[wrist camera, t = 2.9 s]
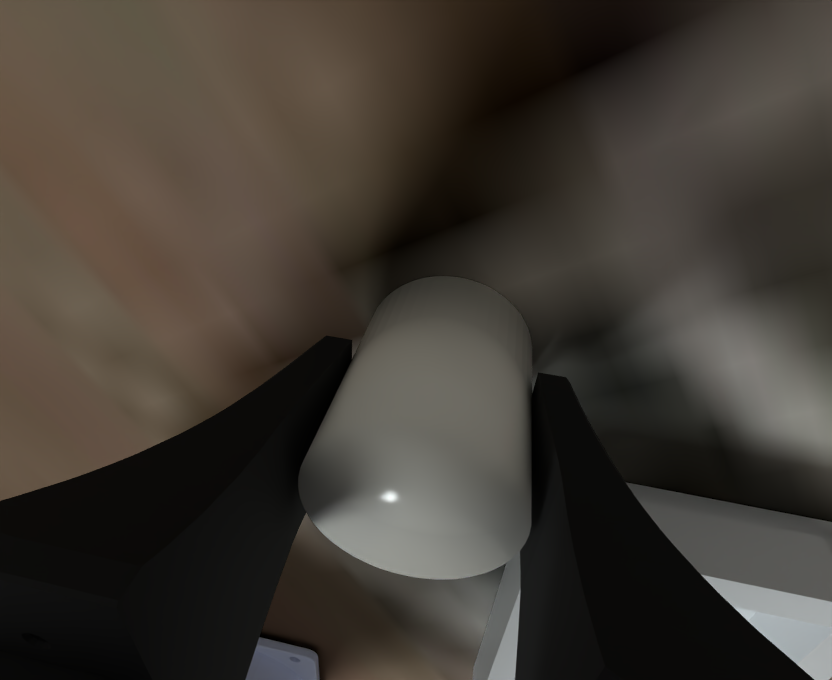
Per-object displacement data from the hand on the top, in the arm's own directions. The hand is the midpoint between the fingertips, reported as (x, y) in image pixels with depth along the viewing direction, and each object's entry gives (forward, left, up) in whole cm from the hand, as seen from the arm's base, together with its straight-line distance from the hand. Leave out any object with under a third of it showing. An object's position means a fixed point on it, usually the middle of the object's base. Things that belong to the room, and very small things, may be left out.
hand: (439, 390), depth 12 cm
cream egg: (0, 0, -2) cm, 2 cm away
